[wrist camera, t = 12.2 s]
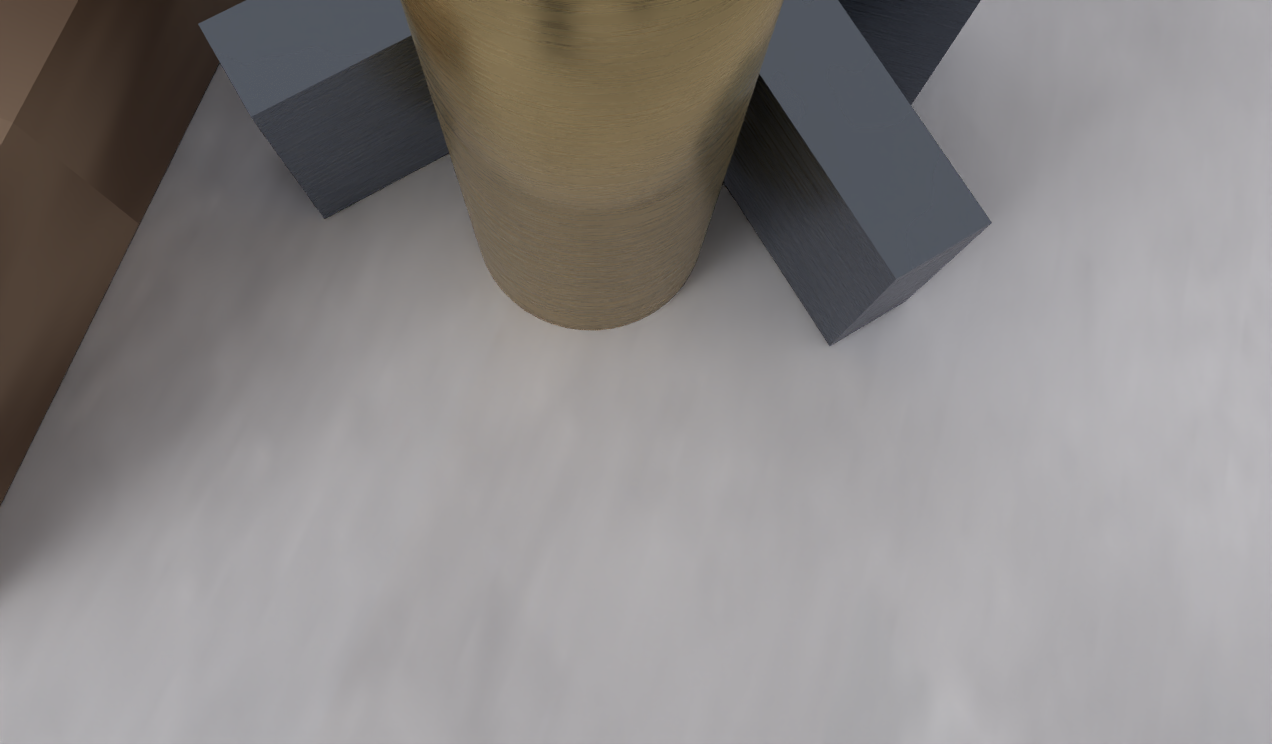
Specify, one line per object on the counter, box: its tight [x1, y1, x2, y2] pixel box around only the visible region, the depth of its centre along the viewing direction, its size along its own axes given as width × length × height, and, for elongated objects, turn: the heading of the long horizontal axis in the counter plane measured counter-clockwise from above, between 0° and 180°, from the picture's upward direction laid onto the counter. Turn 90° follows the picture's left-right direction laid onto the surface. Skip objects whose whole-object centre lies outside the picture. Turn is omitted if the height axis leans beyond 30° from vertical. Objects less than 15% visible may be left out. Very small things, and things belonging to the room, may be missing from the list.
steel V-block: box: [198, 0, 992, 346], centre depth 17 cm, size 7×11×4 cm, turn 76°
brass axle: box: [400, 0, 784, 330], centre depth 11 cm, size 4×4×14 cm
